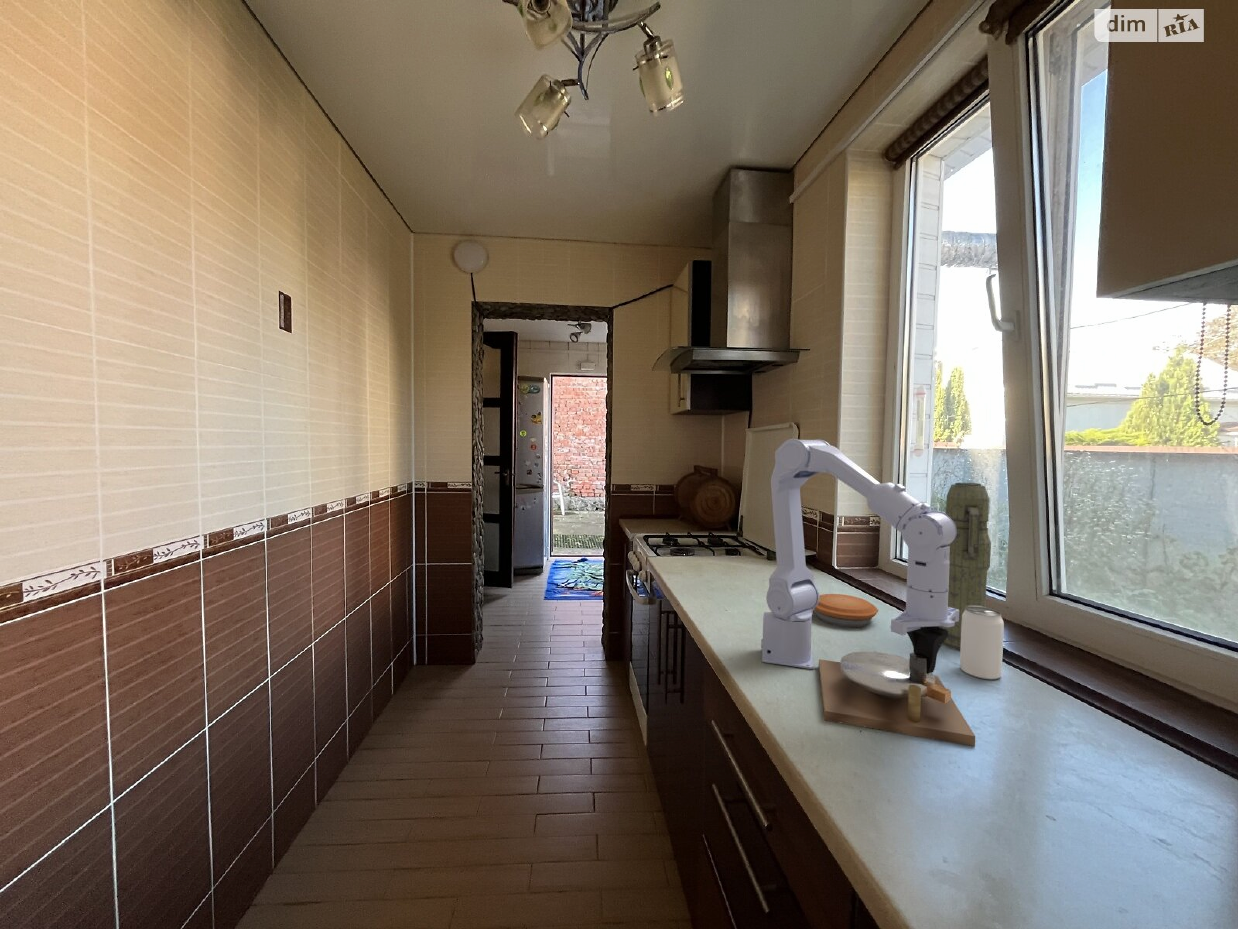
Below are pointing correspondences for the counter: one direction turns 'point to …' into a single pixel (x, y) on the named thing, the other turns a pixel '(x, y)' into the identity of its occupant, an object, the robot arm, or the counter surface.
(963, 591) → the thermos
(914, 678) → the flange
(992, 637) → the can
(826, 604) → the pie
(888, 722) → the base board
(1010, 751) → the counter surface
